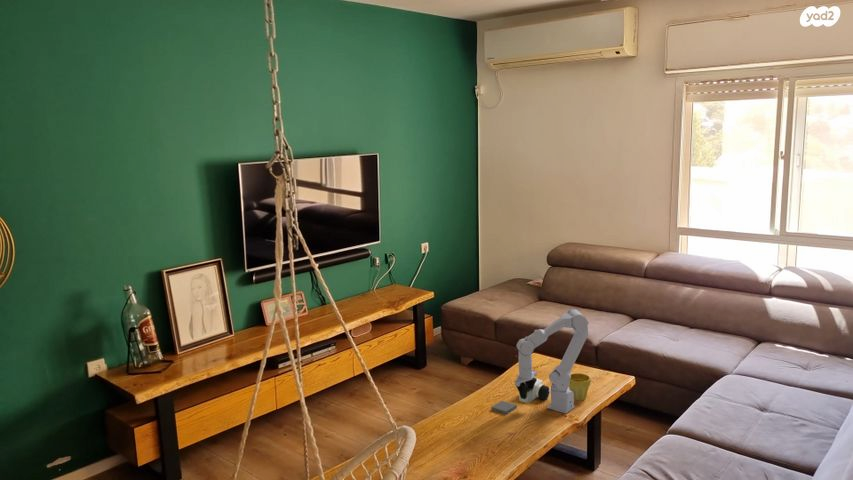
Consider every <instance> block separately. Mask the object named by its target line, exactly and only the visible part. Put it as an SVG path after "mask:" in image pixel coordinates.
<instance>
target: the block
mask: <svg viewBox="0 0 853 480" xmlns="http://www.w3.org/2000/svg"><path fill="white" fill-rule="evenodd" d="M490 408H491V411H493V412H496V413H499V414H502V415H506V416H507V415H509V414H510V413H511V412H514V411H515V410H517V408H518V404H515V403H511V402H508V401H505V400H500V401H499V402H497V403H495V404H493V405H491V407H490Z"/></svg>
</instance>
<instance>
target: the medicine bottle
mask: <svg viewBox="0 0 853 480" xmlns="http://www.w3.org/2000/svg"><path fill="white" fill-rule="evenodd" d="M535 378H536V377H535ZM536 379H537V381H536V382H535V385H534V388H533V400H532V401H534V400H536V399H537V398H539V399H542V400H544V401H545V400H547V399H548V398H550V397H549V396H551V387H550V386H547V385H545V384H544V383H543V382H544V381H543V380H542V379H540V378H536ZM524 383H525V382H524Z"/></svg>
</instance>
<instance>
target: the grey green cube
mask: <svg viewBox="0 0 853 480" xmlns="http://www.w3.org/2000/svg"><path fill="white" fill-rule="evenodd" d="M518 400H519V402H523V403H526V404H529V403H530V402H532V401H534V400H533V389H532V388H528V387H527V391H526V399H522V398H521V397H520V393H519V392H518Z"/></svg>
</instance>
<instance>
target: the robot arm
mask: <svg viewBox="0 0 853 480" xmlns="http://www.w3.org/2000/svg"><path fill="white" fill-rule="evenodd" d="M563 328H567V329H568V328H569V329H572V330H573V333H574V334H573V336H572V337H571V339H570V342H569V344H568V346H567V349H566V351H565V352H564V354H563V357H562V359H561V360H560V363H559V364H558V365H557V366H555V367H554V369H553V370H552V371H551V372H550V374H549V377H548V378H549V380H548V381H550V382H551V386H550V404H549V405H548V406H547V409H549V410H553V411H556V412H560V413H562V414H567V413H569V412H570V411H572V410H573V409H574V408H575V406H576V405H575V400H574V393H573V392H572V391H570V389H569V381H570V378H571V374H572V373H571V372H572V370H573V367H574V364H575V363H576V362H577V361H576V360H577V358H578V357H579V355H580V353H581V350H583V349H582V348H583V347H584V344H585V342H586V340H587V339H588V336H589V321H588V319H587V317H586V316H585V315H583V314H582V313H581V312H580V311H579V310H577V309H576V308H571V309H569V310H568V311H566V312H563V313H562V315H561V316H560V317H559V318H558V319H556V320H555V321H553V322H552V323H550V324H549V325H548V326H547V327H545V328H543V329H541V328H539V329H534V331H533V333H531V334H529V335H528V336H527V335H526V336H525V337H524V338H521V339H519V340H518V341H517V343H516V348H517V350H518V357H517V358H518V374H516V376H517V378H516V379H515V380H514V386H515V387H516V388H517V391H518V394H519V393H520V397H521V398H522V399H526V391H527V387H528V388H532V389H533V388H534V385H535V382H536V381H537V379H538V378H537V379H536V376H537V375H538V374H537V370H533V357H532V354H533V352H534V350H535V349H536V348H537V347H539V346H540V345H542V344H544V343H545V342H547V340H548V339H549V336H551V335H552V334H554V333H556V332H558V331H560V330H562V329H563ZM524 382H525V383H524Z"/></svg>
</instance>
